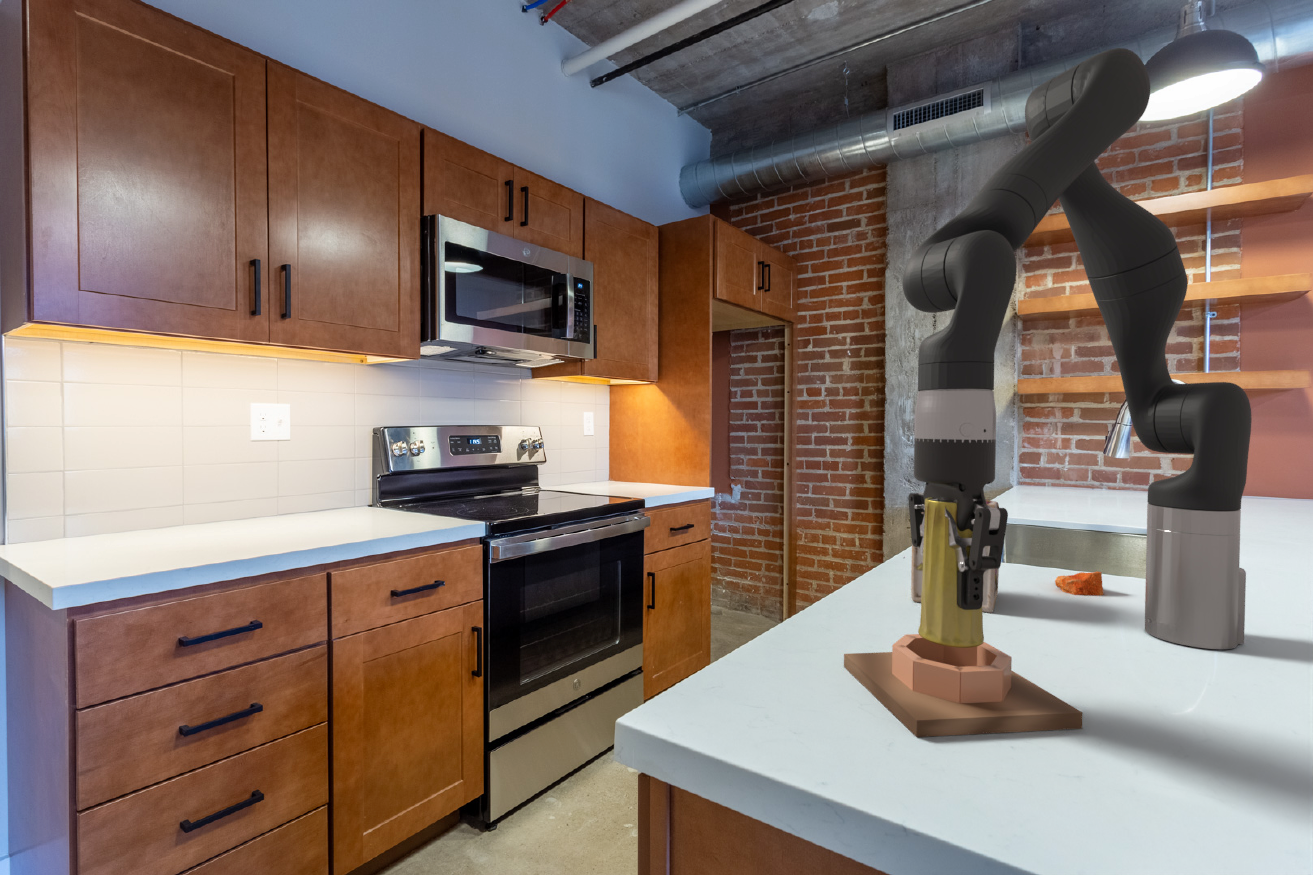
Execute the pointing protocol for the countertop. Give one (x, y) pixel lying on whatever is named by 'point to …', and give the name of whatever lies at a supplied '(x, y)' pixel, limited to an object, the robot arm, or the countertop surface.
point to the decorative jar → (988, 578)
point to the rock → (1081, 583)
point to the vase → (944, 585)
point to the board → (961, 704)
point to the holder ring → (952, 670)
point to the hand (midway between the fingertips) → (951, 599)
